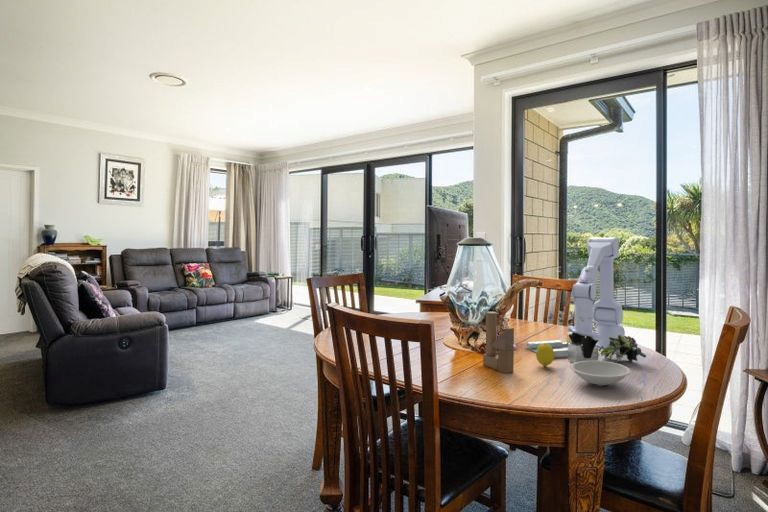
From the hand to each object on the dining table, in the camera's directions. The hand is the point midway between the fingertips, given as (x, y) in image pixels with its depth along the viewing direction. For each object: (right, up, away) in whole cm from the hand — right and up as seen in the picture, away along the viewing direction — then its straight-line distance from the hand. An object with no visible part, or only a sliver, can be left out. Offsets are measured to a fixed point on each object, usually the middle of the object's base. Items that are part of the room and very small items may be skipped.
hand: (583, 356), depth 143 cm
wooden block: (-32, -2, -8) cm, 33 cm away
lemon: (-16, -2, -7) cm, 17 cm away
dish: (-7, -3, -24) cm, 25 cm away
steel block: (0, -2, 0) cm, 2 cm away
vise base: (-2, -1, +12) cm, 13 cm away
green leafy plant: (+12, -2, -2) cm, 13 cm away
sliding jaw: (-4, -1, +17) cm, 18 cm away
